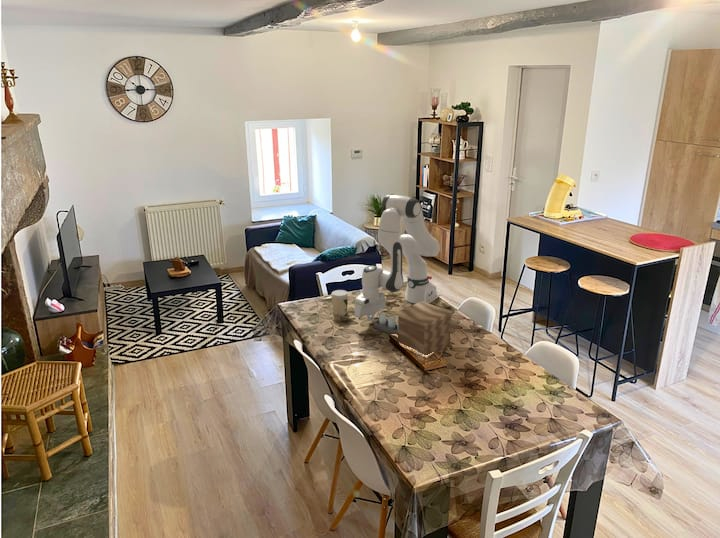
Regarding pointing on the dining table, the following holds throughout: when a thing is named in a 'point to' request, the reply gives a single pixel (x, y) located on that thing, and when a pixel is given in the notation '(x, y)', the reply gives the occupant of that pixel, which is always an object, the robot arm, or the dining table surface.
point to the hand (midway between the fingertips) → (370, 319)
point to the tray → (386, 324)
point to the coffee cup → (339, 302)
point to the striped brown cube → (424, 327)
